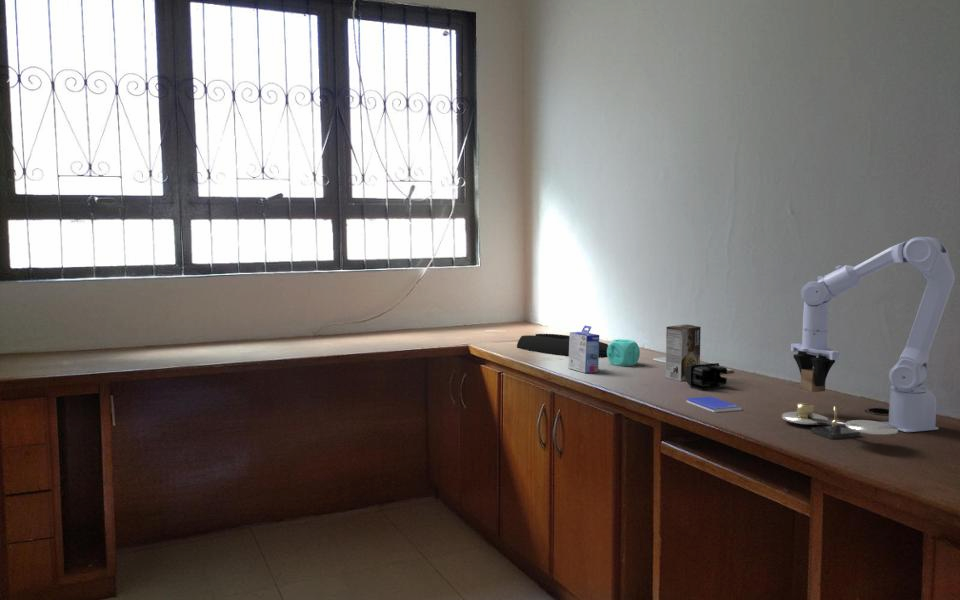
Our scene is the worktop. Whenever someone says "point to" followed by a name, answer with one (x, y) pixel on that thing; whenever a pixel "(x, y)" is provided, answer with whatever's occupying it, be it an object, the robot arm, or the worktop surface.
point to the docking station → (552, 344)
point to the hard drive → (713, 404)
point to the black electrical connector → (706, 376)
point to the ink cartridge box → (584, 351)
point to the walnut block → (809, 381)
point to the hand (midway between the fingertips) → (812, 384)
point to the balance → (837, 424)
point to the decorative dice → (623, 352)
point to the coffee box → (681, 350)
